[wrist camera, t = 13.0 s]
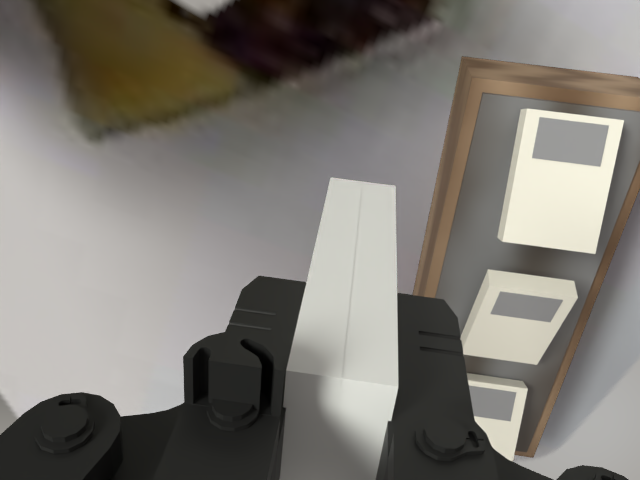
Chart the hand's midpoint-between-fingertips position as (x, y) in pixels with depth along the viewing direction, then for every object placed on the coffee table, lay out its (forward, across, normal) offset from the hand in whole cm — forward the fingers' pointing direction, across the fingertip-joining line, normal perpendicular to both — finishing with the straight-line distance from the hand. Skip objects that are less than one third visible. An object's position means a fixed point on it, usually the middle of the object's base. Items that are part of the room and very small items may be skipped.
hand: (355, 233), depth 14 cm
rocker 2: (+22, +12, -6) cm, 26 cm away
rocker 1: (+22, +12, -28) cm, 37 cm away
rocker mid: (+22, +12, -17) cm, 30 cm away
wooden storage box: (+30, +12, -17) cm, 37 cm away
